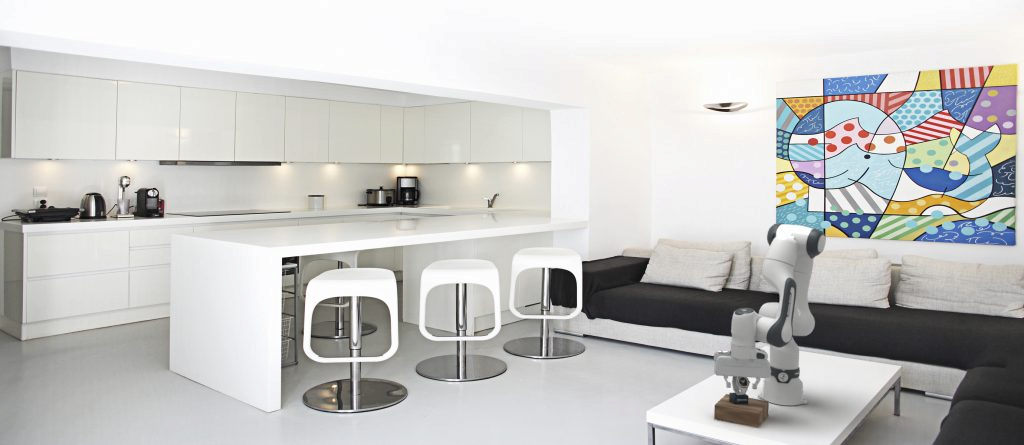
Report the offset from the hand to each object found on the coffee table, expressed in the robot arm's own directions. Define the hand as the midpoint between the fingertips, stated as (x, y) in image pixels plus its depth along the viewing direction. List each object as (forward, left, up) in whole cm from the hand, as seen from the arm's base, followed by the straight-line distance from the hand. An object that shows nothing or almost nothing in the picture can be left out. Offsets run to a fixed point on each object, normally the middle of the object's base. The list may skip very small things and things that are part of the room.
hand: (741, 388), depth 272 cm
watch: (0, -1, -6) cm, 6 cm away
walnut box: (0, 0, -12) cm, 12 cm away
